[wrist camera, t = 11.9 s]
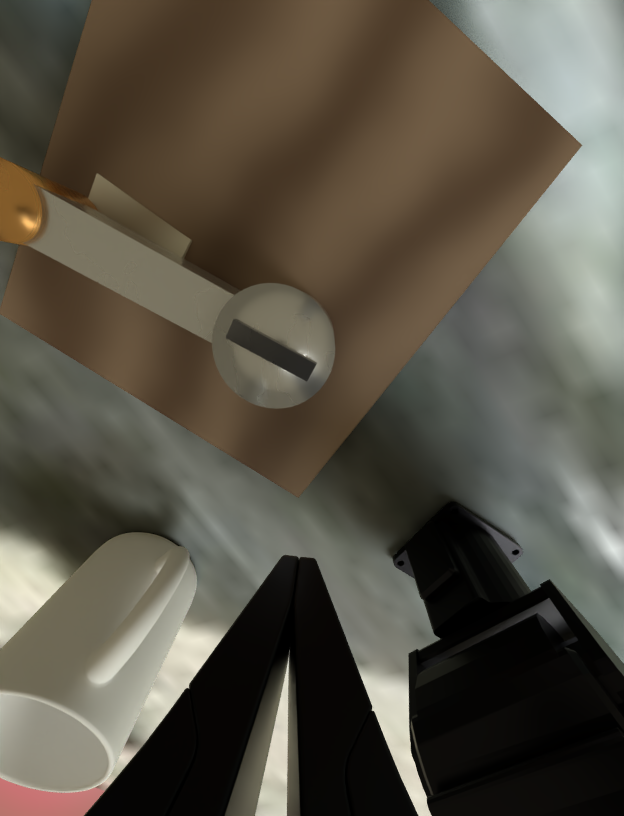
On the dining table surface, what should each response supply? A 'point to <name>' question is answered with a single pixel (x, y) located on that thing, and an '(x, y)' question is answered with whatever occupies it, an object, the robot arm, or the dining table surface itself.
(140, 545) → the mug
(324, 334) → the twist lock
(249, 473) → the dining table surface
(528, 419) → the dining table surface
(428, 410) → the dining table surface
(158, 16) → the lock base
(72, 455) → the dining table surface
